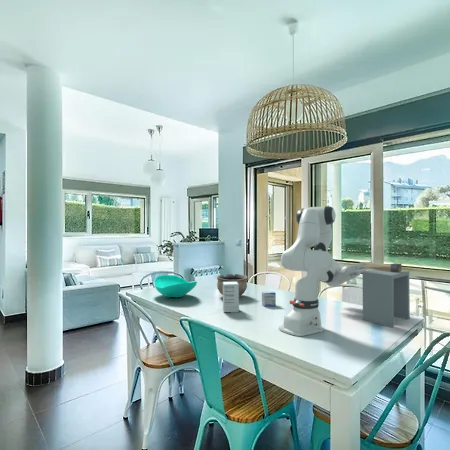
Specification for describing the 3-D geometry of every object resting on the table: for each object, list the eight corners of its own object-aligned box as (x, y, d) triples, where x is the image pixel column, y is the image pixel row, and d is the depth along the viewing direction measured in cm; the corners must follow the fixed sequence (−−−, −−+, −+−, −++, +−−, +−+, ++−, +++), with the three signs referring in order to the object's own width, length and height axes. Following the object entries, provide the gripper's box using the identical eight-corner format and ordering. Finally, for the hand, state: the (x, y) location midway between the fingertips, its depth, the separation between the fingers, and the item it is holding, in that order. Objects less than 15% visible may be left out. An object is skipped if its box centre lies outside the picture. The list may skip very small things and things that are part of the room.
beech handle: (396, 272, 159) (396, 264, 159) (359, 267, 178) (359, 260, 178) (401, 271, 162) (401, 263, 162) (364, 266, 181) (364, 260, 181)
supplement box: (239, 312, 178) (239, 284, 178) (223, 313, 177) (223, 284, 177) (237, 308, 187) (237, 281, 187) (222, 308, 187) (222, 281, 187)
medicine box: (264, 307, 190) (264, 293, 190) (261, 305, 194) (261, 291, 194) (275, 306, 192) (275, 292, 192) (272, 304, 196) (272, 291, 196)
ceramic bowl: (241, 292, 231) (240, 273, 231) (252, 299, 210) (252, 277, 210) (213, 294, 224) (213, 274, 224) (222, 301, 203) (222, 279, 203)
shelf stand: (392, 327, 151) (391, 274, 151) (362, 320, 162) (362, 271, 162) (409, 318, 164) (409, 270, 164) (381, 312, 176) (381, 267, 176)
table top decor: (206, 299, 210) (206, 280, 210) (170, 305, 194) (170, 285, 194) (179, 289, 242) (179, 273, 242) (146, 294, 225) (146, 277, 225)
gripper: (337, 269, 180) (356, 259, 171) (354, 266, 193) (373, 257, 184) (342, 279, 178) (361, 269, 168) (359, 275, 190) (378, 266, 181)
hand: (368, 263), depth 176 cm, fingers open, 8 cm apart
